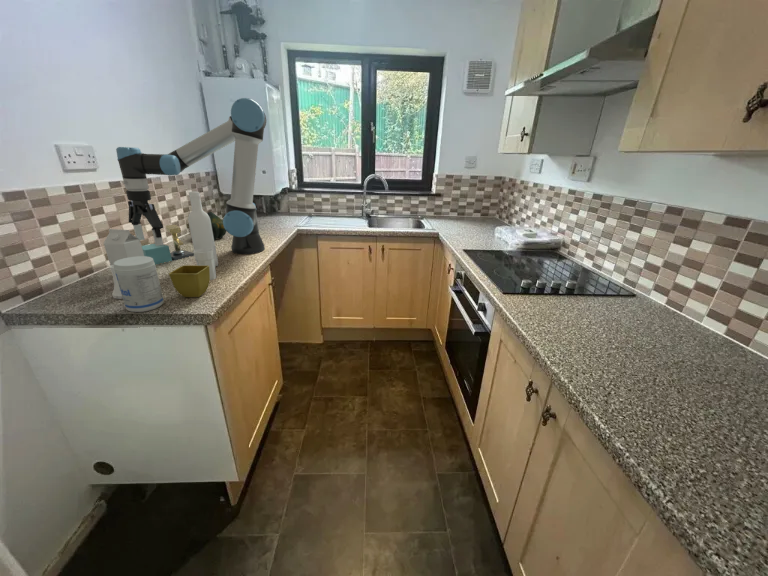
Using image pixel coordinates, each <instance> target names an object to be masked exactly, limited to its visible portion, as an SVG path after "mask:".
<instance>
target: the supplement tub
mask: <svg viewBox="0 0 768 576" xmlns="http://www.w3.org/2000/svg"><path fill="white" fill-rule="evenodd" d="M113 264H114V270H115V274H116V277H117V280H118V284H119V287H120V291H121V294H122V297H123V298H122V300H123V303H124V307H125V309H126V310H127V311H129V312H132V313H143V312H144V313H145V312H149V311H152V310H156V309H158V308H159V307H161V306H162V305H164V303H165V300H164V295H163V291H162V287H161V284H160V279H159V274H158V269H157V267H156V266H157V265H155V262H154V260H153V258H151V257H147V256H136V257H128V258H123V259H120V260H117V261H115V262H114V263H113Z"/></svg>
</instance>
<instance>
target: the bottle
mask: <svg viewBox="0 0 768 576" xmlns="http://www.w3.org/2000/svg"><path fill="white" fill-rule="evenodd" d="M188 197H189V202H190V206H191V211H190V213H189V214H188V216H187V217H188V218H187V221H188V227H189V232H190V237H191V241H192V247H193V250H195V249H199V248H212V249H213V251H214V262H215V268H217V267H219V259H218V254H217V249H216V243H215V240H214V237H213V231H212V226H211V220H210V217H209V216H208V214H207V213H208V212H206V211H205V210H203V205H202V200H201V193H200V192H199V191H189V192H188ZM216 266H217V267H216Z"/></svg>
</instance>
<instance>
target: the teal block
mask: <svg viewBox="0 0 768 576" xmlns="http://www.w3.org/2000/svg"><path fill="white" fill-rule="evenodd" d="M141 246H142V249H143V253H144V256H147V257H151V258H153V260H154V262H155V266H157V265H161V264H160V263H162V264H165V263H164V262H166V263H170V262H169V261H171V262H173V260H172V258H171V254H170V253H171V250H170V246H169V245H166V244H164V245H159V246H156V245H155V243H151V244H145V245H141ZM156 264H157V265H156Z"/></svg>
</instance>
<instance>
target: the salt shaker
mask: <svg viewBox="0 0 768 576" xmlns="http://www.w3.org/2000/svg"><path fill="white" fill-rule="evenodd" d="M108 268H109V270H110V272H111V274H112V278H113V291H112V293H111V295H112V298H114V299H121V300H123V297H122V294H121V291H120V287H119V284H118V280H117V277H116V274H115V270H114V265H111V266H110V265H109V266H108Z"/></svg>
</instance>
